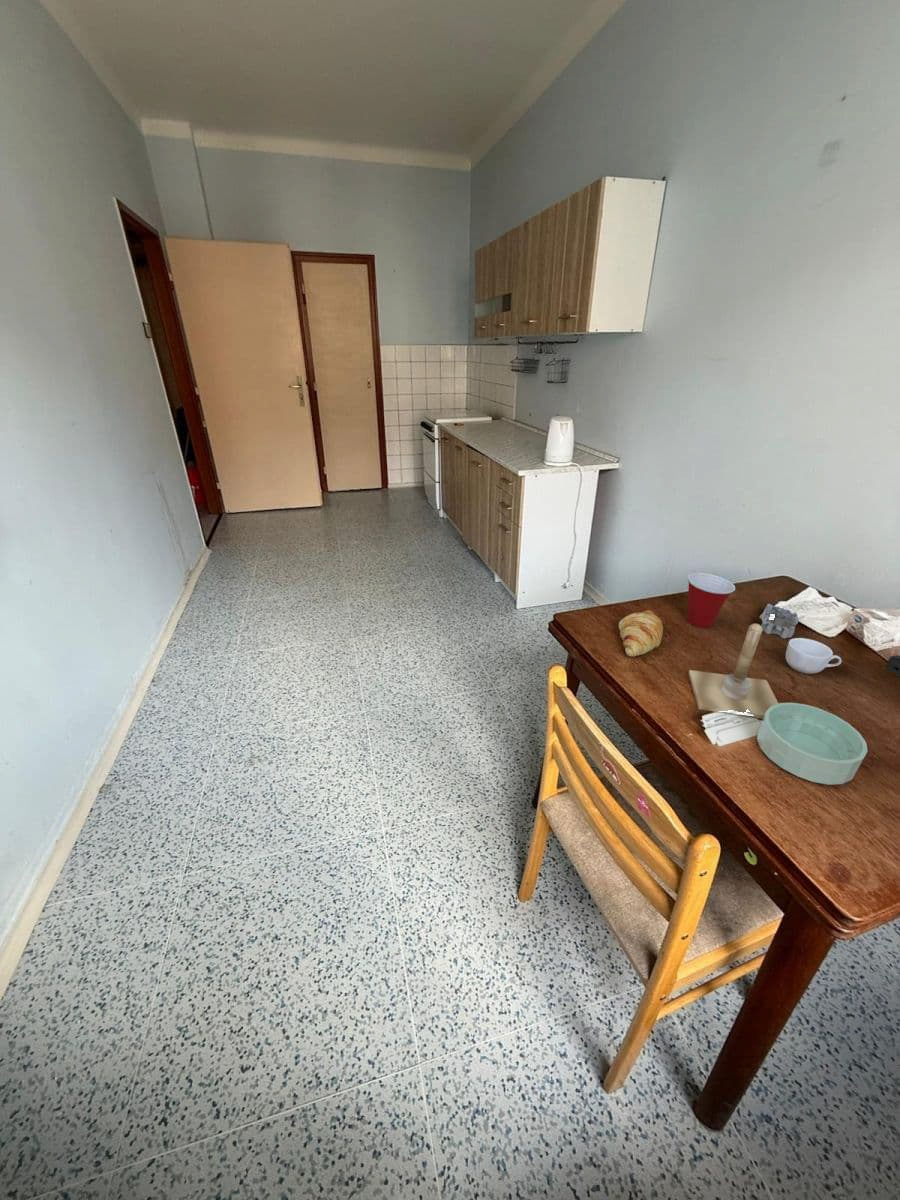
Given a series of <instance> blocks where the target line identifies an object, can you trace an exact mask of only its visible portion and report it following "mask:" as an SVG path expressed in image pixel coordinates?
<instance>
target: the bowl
mask: <svg viewBox="0 0 900 1200" xmlns="http://www.w3.org/2000/svg"><path fill="white" fill-rule="evenodd" d="M761 720H762V721H761V723H760V725H759V728H758V730H757V735H756V741H757V743H758V746H759V748H760V750H761V751H762V752H763V753H764V754H765V755H766V757H767V759H769V760H770V761H771V762H773V763H774V764H776V765H777V766H778V767H780V768H781V769H783V770H784V771H786V772H788V773H791V774H792V775H794V776H796V777H797V778H801V779H803V780H807V781H809V782H812V783H817V784H822V785H829V786H831V785H843V784H846V783H849V782H850V781H852V780H853V779H854V777H856V774H857V772H858V770H859V768H860V766H861V765H862V763H863V761H864V759H865V758H866V756H867V754H868V753H869V751H868V744H867V741H866V740H865V739H864V737H863V736H862V734H861V733H860V732H859V731H858V730H857V729H856V728H855V727H853V726H852V725H851V724H850V722H849V723H848V722H847V721H846V720H845V719H843V718H841V717H839V716H838V715H836V714H833V713H831V712H829V711H826V710H825V709H823V708H820V707H816V706H812V705H810V704H805V703H798V702H778V704H776V705H773V706H771V707H770V708H769V709H768V710H767V711H766V712H765V715H764V717H763V719H761Z"/></svg>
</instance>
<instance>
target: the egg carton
mask: <svg viewBox="0 0 900 1200" xmlns="http://www.w3.org/2000/svg"><path fill="white" fill-rule="evenodd" d="M770 614H775V618H774V620H769V617H770ZM760 617H761V620H762V622H761V624H760V626H761V627H762V632H764V633H765V634H768V635H771V634H773V635H779V637H780V638H781V639H787V638H792V637H793V635H794V634H795V630H796V627H797V625H798V623H799V621H800V620H799V619H800V618H799V617H798V613H797V612H795V611H794V612H791V610H790V609H785V608H783V607H780V606H778V605H777V606H775V605H773V604H771V603H767V605H766V606H765V608H764V610H763V612H762V614H761V616H760Z"/></svg>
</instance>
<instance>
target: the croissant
mask: <svg viewBox="0 0 900 1200" xmlns="http://www.w3.org/2000/svg"><path fill="white" fill-rule="evenodd" d="M618 629H619V636H620V638H621V640H622V645H623V647H624V648H625V654H626V655H627V656H628V657H632V658H633V657H637V656H641V655H645V654H647V653H649V652H651V651H652V650H653V649H655V648H657V647H660V644H661V642H662V639H663V634H664V626H663V622H662V620H661V618H660V617H658V615H656V614H655V612H654V611H653V610H650V609H645V610H643V611H638V612H633V613H630V614H628V615H626V616H625V617H623V618H622V619H621V620H619V622H618Z"/></svg>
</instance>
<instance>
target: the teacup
mask: <svg viewBox="0 0 900 1200" xmlns="http://www.w3.org/2000/svg"><path fill="white" fill-rule="evenodd" d="M834 659H838V661H837V662H836V663H829V662H830V661H832V660H834ZM785 660H786V663H787V664H788V666H789V667H791V668H792V670H794V671H796V672H799V673H801V674H807V675H810V674H811V675H812V674H818V673H819V672H822V671H823V670H824V669H825V668H832V667H837V666H840V665H841V664H842V658H841V657H840V656H839V655H836V654H834V652H833V650H832V648H830V647H829V646H828V645H826V644H824V643H822V642H821V641H817V640H814V639H811V638H804V637H795V638H792V639H789V641H788V644H787V647H786V651H785Z"/></svg>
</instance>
